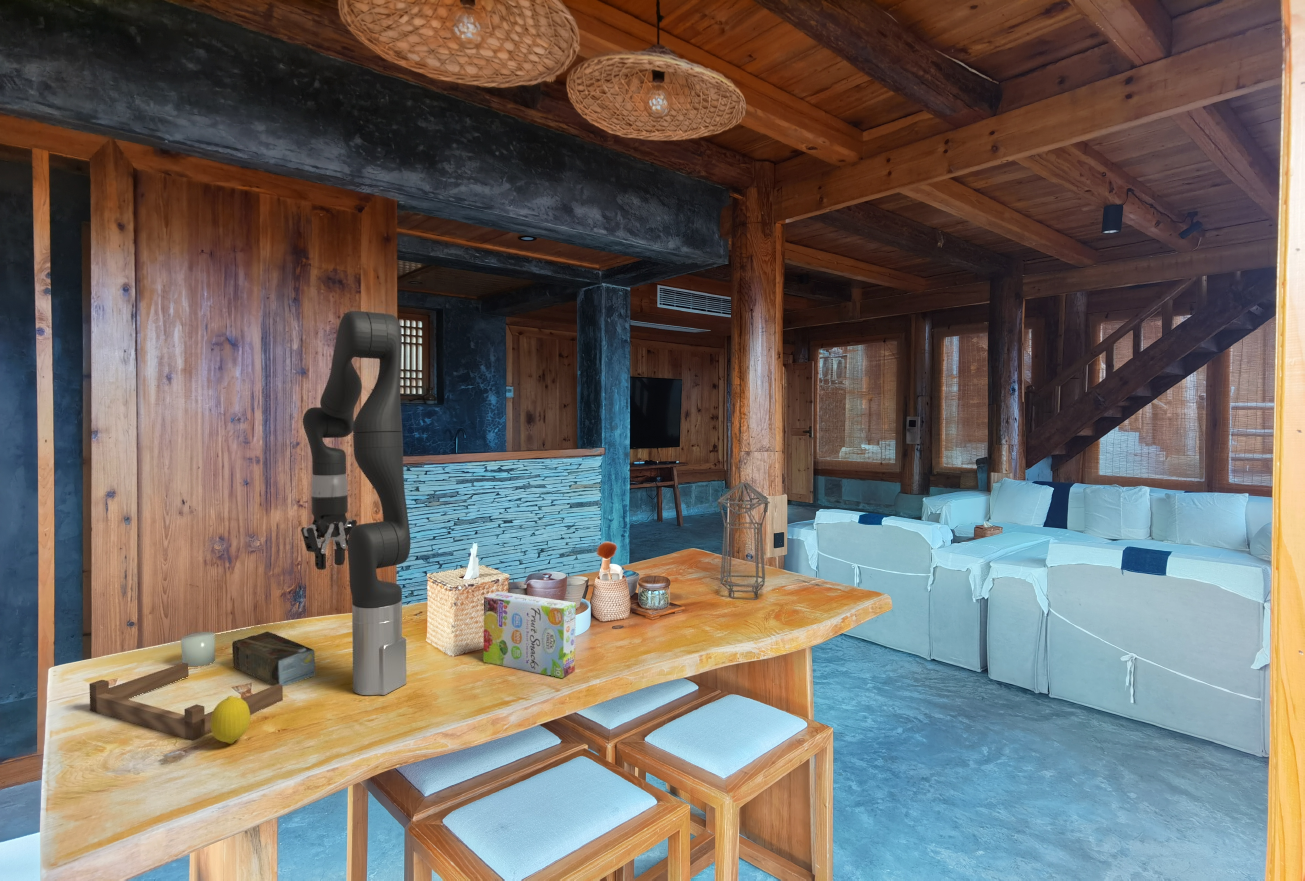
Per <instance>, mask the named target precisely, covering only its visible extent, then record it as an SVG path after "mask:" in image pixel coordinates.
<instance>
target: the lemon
mask: <svg viewBox="0 0 1305 881" xmlns="http://www.w3.org/2000/svg"><path fill="white" fill-rule="evenodd" d="M212 711H213V713H212V717H211V731H212V732H211V733H212V735H213V737H214V738H215V739H216V740H218V741H220V742H222V743H224V742H225V743H227V744H229V745H232V744H234V743H235V742H236V740H239V739H240V738H242V736H244V735H245V733H247V730H248V729H249V725H250V722H251V715H250V711H249V707H248V705H247V703H246V702H245V701H244V700H243V698H241V697H238V696H237V697H236V696H233V695H230V696H227V697H226V698H224V699H223V700H221V701H220V702H218V704H217V705H216V706H215V707H214V709H213V710H212Z"/></svg>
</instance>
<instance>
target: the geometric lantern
mask: <svg viewBox="0 0 1305 881" xmlns="http://www.w3.org/2000/svg"><path fill="white" fill-rule="evenodd" d="M737 490H738V493H737V496H736V498H735V497H730V496H732V495H733V493H735V492H736V491H737ZM749 491H750V492H751V493H752V494H753V495H754V496H755V497H753V498H751V495H750V493H749ZM745 492H746V493H745ZM746 494H747V497H748V499H746ZM732 500H733V501H732ZM753 500H754V501H755V500H757V501H755V502H753ZM749 502H750V503H749ZM770 503H771V502H770V501H769V498H768V497H767V496H766V495H764V494H763V493H762V492H760V491H759V490H757V488H755V487H753V486H752V485H751V484H750V483H749V482H745V481H742V482H739V483H738V484H736V485H734V487H732V488H731V489H729V490H727V492H725V493H723V495H721V496H720V497H719V499H718V500H717V506H718V507H719V510H720V512H721V516H722V521H723V538H722V550H721V553H722V554H721V563H720V564H721V565H720V582H719V583H720V585H722V586H723V587H724V588H726V589H727V590H728V591H729V599H735V600H756V601H757V599H759V591H760V590H762V588H763V587H764V586H765V583H766V572H765V571H766V570H765V557H764V556H765V555H764V540H763V539H764V538H763V525H764V524H763V523H764V520H765V516H766V514H767V513H768V509H769V504H770ZM728 504H732V505H733V506H734V507H735V509H733V508H732V507H730V505H728ZM723 505H724V506H725V507H726V508H728V509H729V510H730V511H732V512H733V515H732V516H731V518H730V520H729V521H728V520H727V518H726V516H725V513H724V510H723V509H724V508H723ZM761 505H764V507H763V511H762V512H761V513H760V514H761V515H760V517H759V521H758V522H757V519H756V518H755V517H754V515H753V513H752V512H751V511H753V510H755V509H757V508H758V507H760V506H761ZM747 506H748V507H747ZM742 509H743V510H744V511H741V510H742ZM740 514H741V515H742V514H747V516H748V518H749V519H750V522H742V521H740V522H739V521H735V520H736V518H737V517H738V515H740ZM752 518H753V519H752ZM734 524H749V525H753V526H752V527H749V526H747V527H746V526H733V525H734ZM729 525H730V526H729ZM729 529H730V542H729ZM733 529H749V530H750V529H753V535H754V536H753V537H754V540H753V541H754V556H755V558H754V559H755V561H754V562H755V575H745V574H744V575H743V574H731V572H732V553H733V552H732V550H733ZM759 549H760V550H759ZM759 552H760V554H759ZM759 563H760V565H761V575H759V574H760V573H759V571H760V570H759V568H760V567H759V566H760V565H759ZM725 573H726V574H725ZM732 578H756V579H755V581H754V583H753V584H745V583H744V584H743V583H733V581H732ZM759 579H761V581H760V582H759ZM724 580H725V582H724ZM729 580H730V582H729ZM734 587H751V588H752V590H734ZM735 593H753V594H754V597H736V596H735Z"/></svg>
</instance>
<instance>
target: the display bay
mask: <svg viewBox="0 0 1305 881" xmlns="http://www.w3.org/2000/svg"><path fill="white" fill-rule="evenodd" d="M188 676H190V675H189V669H188V663H182V662H181V663H179V664H176V665H172V666H171V667H170V666H169V667H167V668H164V669H162V670H159V671H155V672H152V673H150V674H146V675H144V676H140V677H138V678H134V679H131V680H129V681H126V682H123V683H120V684H117V685H113V686H111V687H109V686H110V681H108V680H105V679H99V680H97V681H93V682H90V683H89V686H88V687H89V711H90V710H92V711H91V712H94V711H95V712H94V713H97V712H99V713H98V714H101V713H102V714H101V715H104V714H105V716H107V715H108V716H109V717H111V716H112V717H111V718H114V717H115V718H114V719H118V718H119V719H118V720H122V721H124V722H128V723H131V724H135V725H139V726H141V727H142V726H143V727H146V728H149V729H152V730H156V731H159V732H163V733H166V734H169V735H173V736H176V737H180V738H182V739H187V740H189V741H195V740H196V739H199V738H202V737H204V736H207V735H208V734H211V733H212V731H211V717H212V713H213V711H214V710H211V711H210V712H207V713H205V706H204V705H200V704H197V703H196V704H194V705H191V706H188V707H185V708H184V713H179V712H175V711H172V710H168V709H165V708H161V707H157V706H153V705H149V704H147V703H142V702H139V701H135V700H131V699H133V698H135V697H134V696H136V697H138V696H137V695H139V696H141V695H140V694H142V693H144V694H147V693H149V692H148V691H150V692H152V691H151V690H153V691H155V690H154V689H156V688H158V689H160V688H159V687H161V688H163V687H162V686H164V685H167V684H170V683H172V684H174V683H173V682H175V681H178V680H180V679H182V678H186V677H188ZM186 679H187V678H186ZM178 682H179V681H178ZM175 683H176V682H175ZM170 685H171V684H170ZM167 686H168V685H167ZM164 687H165V686H164ZM283 688H284V686H283V685H281V684H276V685H271V686H270V687H267V688H265V689H262V690H260V691H258V692H255V693H253V694H251V695H247V696H245V697H244V698H243V697H242V699H243V700H244V701H245V702H246V703H247V705H248V707H249V711H250V716H251V715H253V714H255V713H258V712H259V710H260V711H262V710H264V709H266V707H267V708H268V707H270V706H273V705H275V704H277V702H278V703H279V702H283V700H284V699H283V698H284V695H283V693H284V692H283V691H284V689H283ZM156 690H157V689H156ZM146 692H147V693H146ZM142 695H143V694H142ZM132 697H133V698H132ZM129 698H131V699H129ZM261 709H262V710H261ZM257 711H258V712H257ZM252 713H253V714H252ZM108 716H107V717H108Z"/></svg>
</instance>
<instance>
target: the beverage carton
mask: <svg viewBox="0 0 1305 881" xmlns="http://www.w3.org/2000/svg"><path fill="white" fill-rule="evenodd" d="M231 646H232V647H231V648H232V664H233V668H235V669H236V670H239V671H242V672H243V673H246V674H248V675H250V676H253V677H254V676H255V678H256V677H257V679H259V680H261V681H263V682H266V683H268V684H271V685H272V686H274V685H276V684H281V685H283V687H286V686H288V684H289V685H291V683H292V684H295V683H297V681H298V682H301V681H303V680H305V678H307V679H308V677H310V678H312V677H315V676H316V662H315V658H316V657H315V649H313V648H310V647H308V646H306V645H303V644H301V643H298V642H296V641H294V640H291V639H289V638H286V637H284V636H281V635H278V634H276V633H274V632H270V631H268V630H267V631H264V632H261V633H259V634H255V635H254V634H253V635H248V636H247V637H244V638H241V639H237V640H233V641H232V645H231ZM300 680H301V681H300ZM294 682H295V683H294ZM285 685H286V686H285Z"/></svg>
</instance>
